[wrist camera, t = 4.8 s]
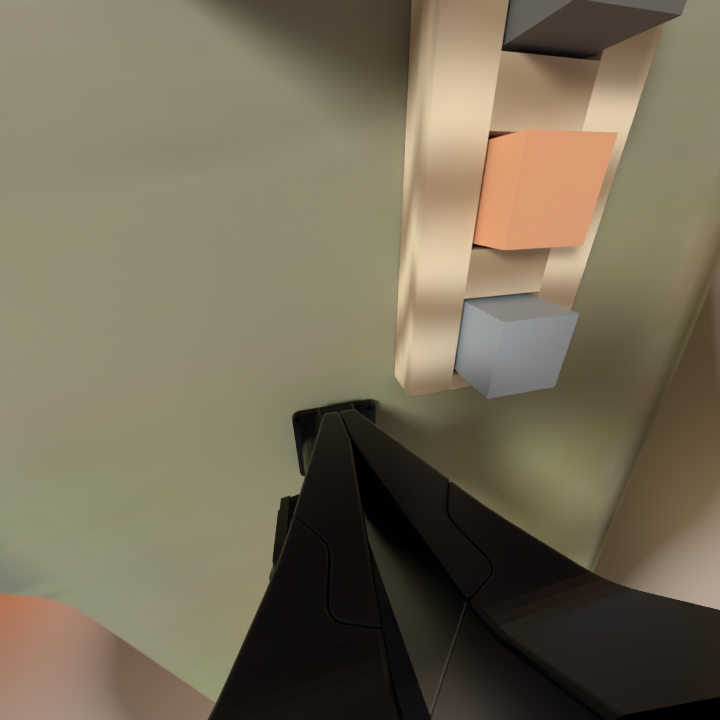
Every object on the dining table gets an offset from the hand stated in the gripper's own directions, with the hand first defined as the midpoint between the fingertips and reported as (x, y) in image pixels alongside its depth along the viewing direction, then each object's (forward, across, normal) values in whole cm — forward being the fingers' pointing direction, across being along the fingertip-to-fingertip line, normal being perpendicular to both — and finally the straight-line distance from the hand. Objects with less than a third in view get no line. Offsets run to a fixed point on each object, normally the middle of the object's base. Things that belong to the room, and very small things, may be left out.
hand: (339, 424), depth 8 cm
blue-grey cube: (+12, -13, +3) cm, 17 cm away
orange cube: (+13, -13, -6) cm, 19 cm away
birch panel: (+13, -13, -6) cm, 19 cm away
